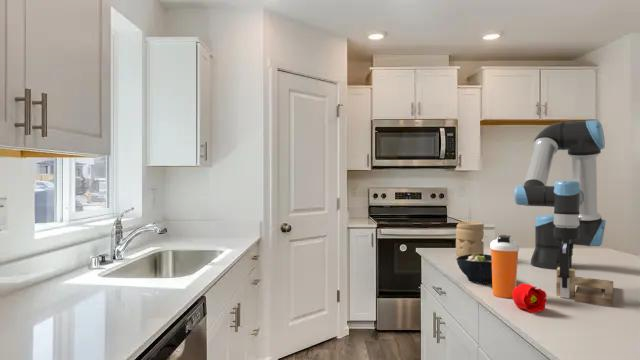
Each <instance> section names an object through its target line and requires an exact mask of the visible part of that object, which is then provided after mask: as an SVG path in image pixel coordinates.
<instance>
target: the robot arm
mask: <svg viewBox="0 0 640 360" xmlns="http://www.w3.org/2000/svg"><path fill="white" fill-rule="evenodd" d="M603 128H604V127H603V125H602V123H601V121H599V120H576V121H562V122H555V123H552V124H549V125H548V126H547V127H544V129H542V130H541V131H540V132H539V133H538V134H537V135H536V137H535V138H534V140H533V143H532V151H533V152H532V156H531V159H530V162H529V164H528V165H529V166H528V169H527V173H526V175H525V179H524V181H523V182H524V183H523V185H522V184H521V185H516V186H515V189H514V191H513V192H514V193H513V194H514V202H515V204H516V205H518V206H525V207H552V208H553V210H554V211H553V214H543V215H539V216H537V217H536V218H535V225H534V228H535V233H534V234H535V235H534V236H535V238H534V239H535V240H534V241H535V244H534V245H535V246H534V247H535V248H534V251H533V252H532V255H531V259H530V265H532V266H534V267H538V268H542V269H543V268H544V269H550V270H551V269H553V270H557V268H558V267H560V274H559V275H558V277H560V297H559V298H563V299H564V298H565V299H571V298H570V278H569V277H570V276H569V268H572V269H573V254H574V253H573V252H574V246H586V247H600V246H602V244H603V241H604V235H605V230H606V222H607V221H606V220H605V219H603V218H602V214H601V213H600V212H598V189H597V188H598V184H597V182H598V180H597V157H598V156H599V155H600V154H601V153H602V151H601V150H603V149H605V148H606V142H605V133H604V129H603ZM561 150H562V151H567V155H568V156H569V157H570V158H571V162H572V163H571V166H572V168H571V169H572V180H557V181H555V182H554V184H553V185H547V183H548V179H549V174H550V171H551V167H552V163H553V159H554V155H555V154H557V152H558V151H561Z"/></svg>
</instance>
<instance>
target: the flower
mask: <svg viewBox="0 0 640 360" xmlns="http://www.w3.org/2000/svg"><path fill="white" fill-rule="evenodd" d="M512 296H513V298H512V299H513V302H514V304H515V306H516V307H517V308H519V309H522V310H527V311H528V312H529V313H530V314H534V313H536V314H537V313H539V312H541V311H544V310H545V308H546V303H547V302H548V300H547V298H546V297H547V293H546V291H544V290H543V289H542V288H537V286H534V285H532V284H528V283H519V284H518V285H516V288H515V289H514V290H513V291H512Z"/></svg>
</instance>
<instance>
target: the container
mask: <svg viewBox="0 0 640 360" xmlns="http://www.w3.org/2000/svg"><path fill="white" fill-rule="evenodd" d="M484 225H485V224H484V222H477V221H459V222H458V223H457V224H456V230H455V260H456V261H457V258H458V257H460V256H464V255H468V254H484V250H485V249H484V247H485V246H484V244H485V243H484V241H482V240H483V239H484V234H485V233H484V232H485V231H484V227H485V226H484Z"/></svg>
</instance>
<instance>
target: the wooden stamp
mask: <svg viewBox="0 0 640 360" xmlns="http://www.w3.org/2000/svg"><path fill="white" fill-rule="evenodd" d="M559 274H560V267H558V268H557V269H556V292H555V293H556V295H555V297H558V296H560V277H558V275H559ZM569 276H570V277H569V278H570V298H569V299H572V298H575V292H576V286H586V287H593V288H601V292H602V293H605V289H609V281H610V280H607V279H599V278H598V279H597V278H591V277H581V276H576V268H573V267H572V268H569Z"/></svg>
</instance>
